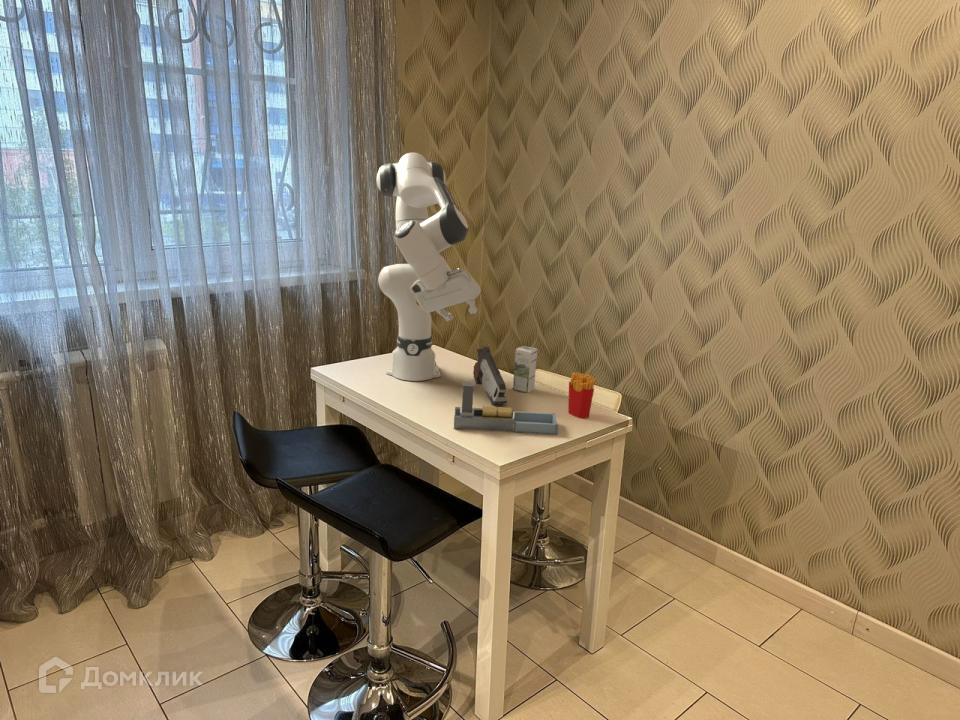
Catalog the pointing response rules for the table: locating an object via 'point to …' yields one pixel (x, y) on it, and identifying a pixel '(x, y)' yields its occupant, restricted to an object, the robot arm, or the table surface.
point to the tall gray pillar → (467, 399)
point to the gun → (489, 377)
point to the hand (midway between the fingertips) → (462, 316)
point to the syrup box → (524, 369)
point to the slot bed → (482, 422)
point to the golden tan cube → (489, 411)
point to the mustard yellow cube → (504, 412)
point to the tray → (535, 423)
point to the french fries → (580, 395)
